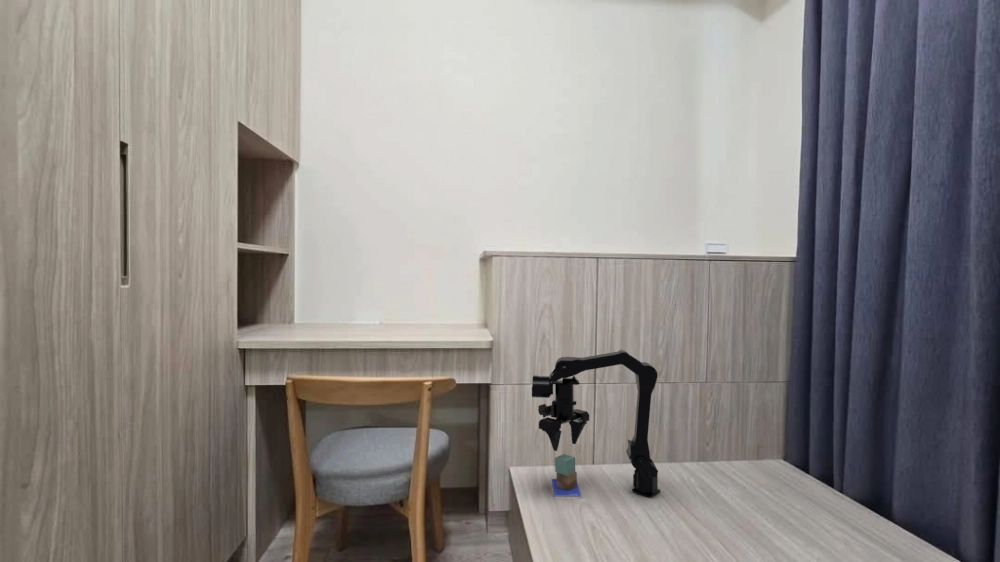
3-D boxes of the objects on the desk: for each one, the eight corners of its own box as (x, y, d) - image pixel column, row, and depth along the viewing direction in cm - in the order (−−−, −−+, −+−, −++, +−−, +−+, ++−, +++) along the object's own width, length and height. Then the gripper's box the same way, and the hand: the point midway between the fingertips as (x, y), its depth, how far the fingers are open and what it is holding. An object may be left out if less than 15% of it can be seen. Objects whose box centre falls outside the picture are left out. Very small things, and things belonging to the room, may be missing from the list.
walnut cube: (576, 486, 152) (576, 471, 152) (568, 490, 149) (568, 476, 149) (565, 482, 155) (565, 468, 155) (556, 486, 152) (556, 472, 152)
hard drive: (581, 495, 145) (576, 478, 158) (554, 495, 146) (551, 478, 158) (581, 501, 145) (576, 483, 158) (554, 500, 146) (551, 483, 158)
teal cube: (575, 471, 152) (575, 457, 152) (566, 475, 149) (566, 461, 149) (564, 468, 155) (563, 454, 155) (555, 471, 152) (554, 457, 152)
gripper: (563, 389, 165) (563, 435, 165) (525, 398, 152) (525, 448, 152) (590, 394, 156) (590, 442, 156) (552, 404, 144) (552, 457, 144)
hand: (564, 447), depth 152 cm, fingers open, 9 cm apart
